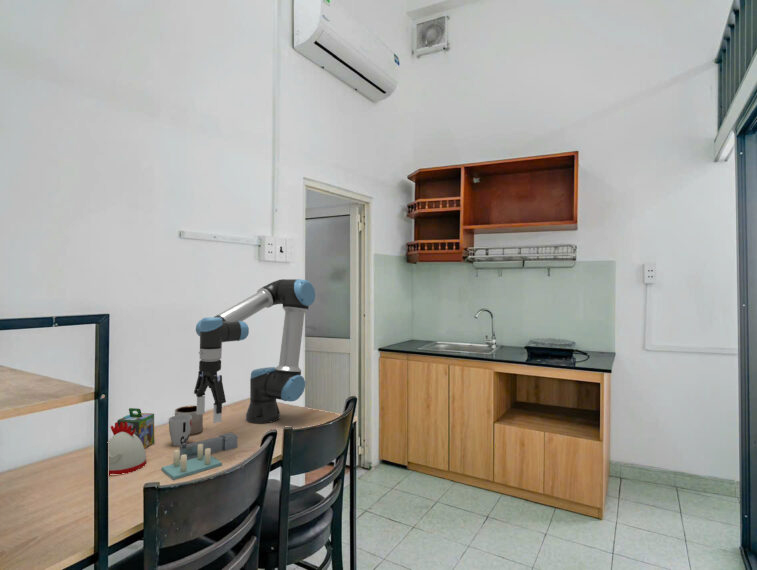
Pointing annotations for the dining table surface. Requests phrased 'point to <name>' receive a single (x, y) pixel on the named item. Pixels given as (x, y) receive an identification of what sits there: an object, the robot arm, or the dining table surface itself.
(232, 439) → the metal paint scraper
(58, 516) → the dining table surface
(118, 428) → the kitchen timer
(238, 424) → the dining table surface
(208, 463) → the peg rack
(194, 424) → the planter
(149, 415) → the chalk box
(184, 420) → the cup
